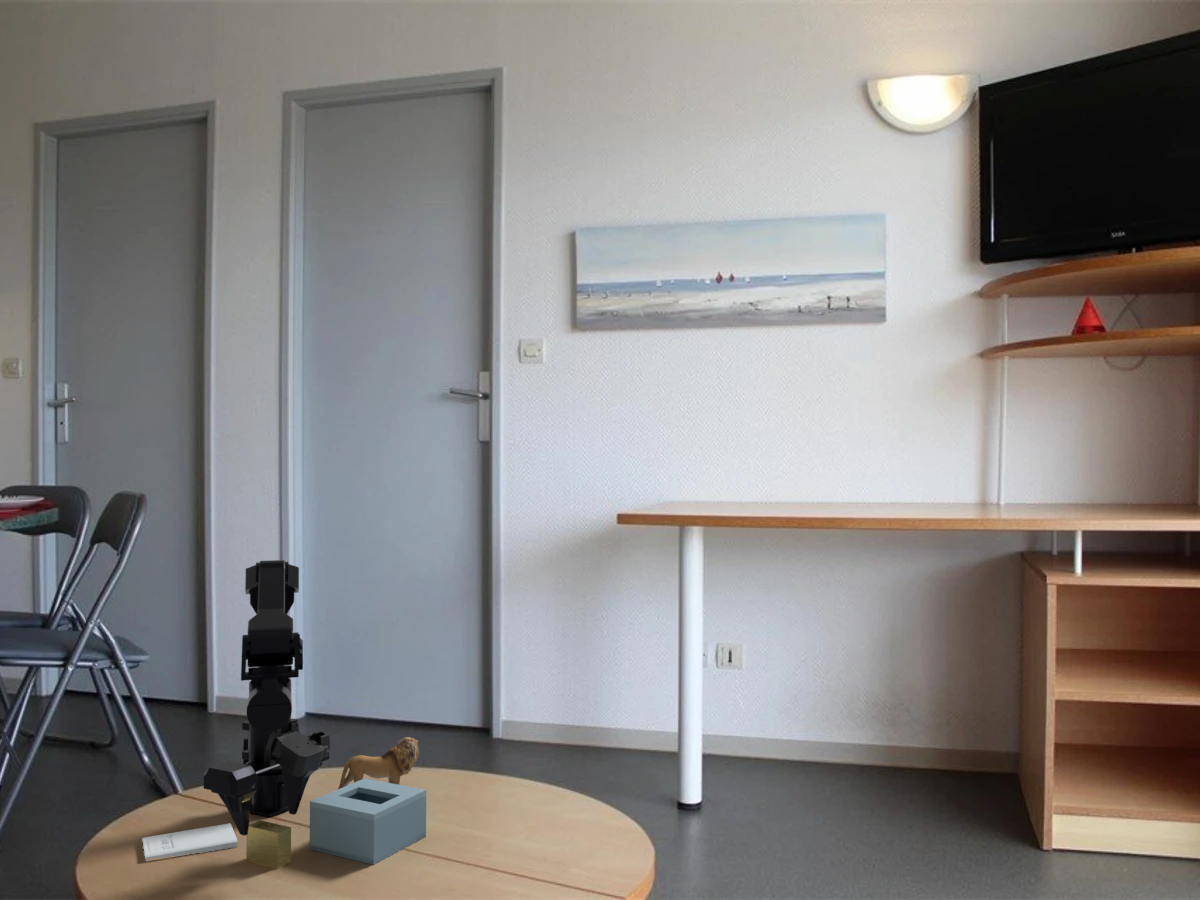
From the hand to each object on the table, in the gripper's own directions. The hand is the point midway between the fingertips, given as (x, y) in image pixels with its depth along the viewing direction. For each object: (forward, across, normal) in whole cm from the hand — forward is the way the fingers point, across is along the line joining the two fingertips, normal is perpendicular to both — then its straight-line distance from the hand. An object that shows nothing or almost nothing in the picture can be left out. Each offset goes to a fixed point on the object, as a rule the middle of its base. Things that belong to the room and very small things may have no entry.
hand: (269, 824), depth 140 cm
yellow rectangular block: (+5, 0, 0) cm, 5 cm away
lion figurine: (+6, +30, +5) cm, 31 cm away
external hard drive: (+6, -1, +15) cm, 16 cm away
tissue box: (+5, +12, -8) cm, 15 cm away
